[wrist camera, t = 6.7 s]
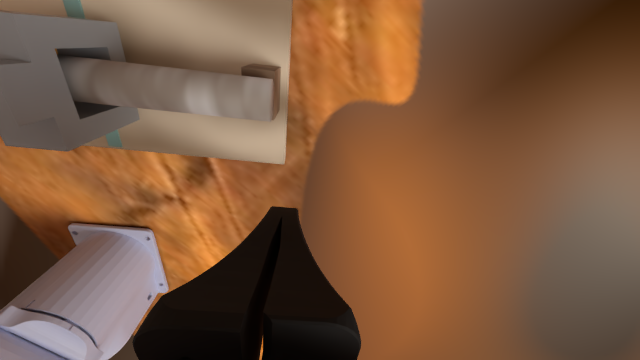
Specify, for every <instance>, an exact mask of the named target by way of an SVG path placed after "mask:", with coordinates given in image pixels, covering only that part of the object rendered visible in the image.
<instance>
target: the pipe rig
mask: <svg viewBox="0 0 640 360" xmlns="http://www.w3.org/2000/svg"><path fill="white" fill-rule="evenodd" d="M292 1H293V0H0V10H5V11H16V12H26V13H36V14H47V15H57V16H67V17H75V18H83V19H91V20H100V21H108V22H116V23H117V26H118V31H119V35H120V39H121V43H122V47H123V51H124V55H125V60H126V62H119V61H110V60H101V59H92V58H83V57H75V56H66V55H57V57H58V60H59V63H60V65H61V68H62V71H63V74H64V76H65V79H66V82H67V85H68V88H69V90H70V93H71V96H72V99H73V101H75V102H84V103H94V104H104V105H113V106H123V107H133V108H137V109H138V114H139V118H140V120H138V121H135V122H133V123H131V124H129V125H126V126H124V127H122V128H120V129H117V130H115V131H113V132H111V133H108V134H106V135H104V136H102V137H99V138H97V139H95V140H93V141H90V142H88V143H86V144H84V146H95V147H105V148H116V149H127V150H137V151H148V152H158V153H169V154H180V155H190V156H201V157H211V158H222V159H233V160H243V161H254V162H264V163H275V164H284V162H285V154H286V132H287V111H288V89H289V67H290V45H291V23H292Z"/></svg>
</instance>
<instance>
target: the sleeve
mask: <svg viewBox="0 0 640 360" xmlns="http://www.w3.org/2000/svg"><path fill="white" fill-rule="evenodd" d="M55 49H57V52H58V54H59V55H66V56H75V57H83V58H92V59H101V60H110V61H119V62H126V60H125V55H124V51H123V47H122V43H121V39H120V35H119V31H118V26H117V23H116V22H108V21H100V20H91V19H83V18H75V17H67V16H57V15H47V14H36V13H26V12H16V11H5V10H0V135H1V137H2V139H3V141H4V143H5V145H6V146H15V147H25V148H36V149H47V150H58V151H70V150H72V149H75V148H77V147H79V146H81V145H84V144H86V143H88V142H90V141H93V140H95V139H97V138H99V137H102V136H104V135H106V134H108V133H111V132H113V131H115V130H117V129H120V128H122V127H124V126H126V125H129V124H131V123H133V122H135V121H138V120H140V118H139V114H138V109H137V108H133V107H123V106H113V105H104V104H94V103H84V102H75V101H73V99H72V96H71V93H70V90H69V88H68V85H67V82H66V79H65V76H64V74H63V71H62V68H61V65H60V63H59V60H58V57H57V54H56V51H55Z"/></svg>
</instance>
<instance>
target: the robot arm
mask: <svg viewBox="0 0 640 360" xmlns="http://www.w3.org/2000/svg"><path fill="white" fill-rule="evenodd" d="M68 229H69V231H70V233H71V236H72V238H73V240H74V242H75V244H76V247H75V248H73V249H72V250H71V251H70V252H69V253H68V254H66V255H65V256H64V257H63V258H62V259H61V260H59V261H58V262H57V263H56V264H55V265H53V266H52V267H51V268H50V269H49V270H48V271H46V272H45V273H44V274H43V275H42V276H41V277H39V278H38V279H37V280H36V281H35V282H33V283H32V284H31V285H30V286H29V287H28V288H26V289H25V290H24V291H23V292H22V293H21V294H19V295H18V296H17V297H16V298H15V299H13V300H12V301H11V302H10V303H9V304H8V305H6V306H5V307H4V308H3V309H2V310H1V311H0V360H108V359H109V358H111V357H112V356H113V355H114V354H116V353H117V352H118V351H119V350H120V349H121V348H122V347H123V346H124V345H125V344H126V342H127V341H128V340H129V338H130V336H131V335H132V333H133V332H134V330H135V329H136V327H137V325H138V324H139V322H140V321H141V319H142V318H143V316H144V314H145V313H146V311H147V310H148V308H149V306H150V305H151V303H152V302H153V300H154V299H155V297H156V295H157V294H158V293H166V292H167V291H168V289H169V288H168V284H167V280H166V277H165V273H164V269H163V266H162V262H161V259H160V255H159V251H158V248H157V244H156V240H155V237H154V233H153V231H152V230H150V229H145V228H132V227H119V226H106V225H93V224H79V223H72V224H70V225H69V226H68ZM262 338H263V355H262V360H357V357H358V354H359V351H360V348H361V339H360V334H359V330H358V326H357V323H356V320H355V317H354V315H353V312H352V309H351V308H350V307H349V305H348V304H346V302H345V301H344V300H343V299H342V298H341V297H340V295H339V294H338V293H337V292H336V291H335V290H334V288H333V287H332V286H331V284H330V283H329V281H328V280H327V279H326V277H325V276H324V274H323V273H322V271H321V270H320V268H319V267H318V265H317V263H316V262H315V260H314V258H313V256H312V254H311V252H310V250H309V247H308V245H307V243H306V240H305V238H304V235H303V232H302V229H301V225H300V221H299V216H298V210H297V209H296V208H285V207H273V206H272V207H271V208H270V209H269V211H268V212H267V214H266V215H265V217H264V218H263V219H262V220H261V222H260V223H259V224H258V225H257V226H256V228H255V229H254V230H253V231H252V232H251V233H250V234H249V235H248V236H247V237H246V238H245V240H244V241H243V242H242V243H241V244H239V245H238V246H237V247H236V248H235V249H234V250H233V251H232V252H231V253H229V254H228V255H227V256H226V257H225V258H223V259H222V260H221V261H219V262H218V263H217V264H215V265H214V266H213V267H211V268H210V269H208V270H207V271H205V272H204V273H202V274H201V275H199V276H198V277H196V278H194V279H193V280H191V281H189V282H188V283H186V284H184V285H182V286H180V287H178V288H176V289H175V290H173V291H171V292H169V293H167V294H165V295H163V296H161V298H160V299H159V300H158V302H157V303H156V304H155V306H154V307H153V308H152V310H151V311H150V312H149V314H148V315H147V317H146V318H145V320H144V322H143V323H142V325H141V327H140V328H139V330H138V331H137V333H136V335H135V336H134V339H133V347H134V350H135V353H136V355H137V357H138V359H139V360H259V357H260V350H261V344H262Z"/></svg>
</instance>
